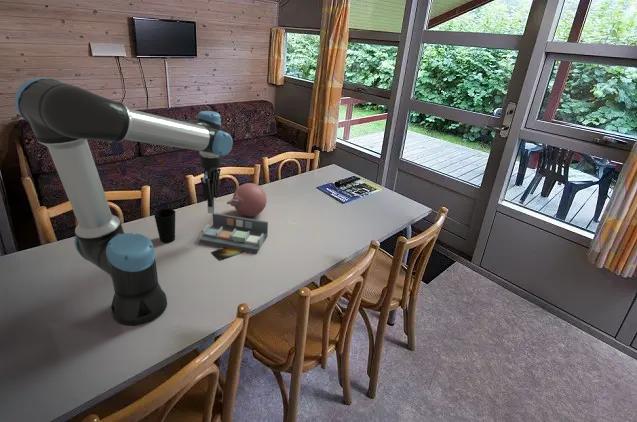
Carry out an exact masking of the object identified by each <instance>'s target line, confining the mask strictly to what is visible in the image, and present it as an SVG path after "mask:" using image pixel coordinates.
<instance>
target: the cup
mask: <svg viewBox="0 0 637 422" xmlns="http://www.w3.org/2000/svg"><path fill="white" fill-rule="evenodd" d="M153 216H154V220H155V225H156V228H157V233H158V237H159V241H160V243H163V244H169V243H173V242H175V240H176V211H175V210H174V209H172V208H161V209H160V208H159V209H158V210H156V211H154V213H153Z"/></svg>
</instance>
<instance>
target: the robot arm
mask: <svg viewBox="0 0 637 422" xmlns="http://www.w3.org/2000/svg"><path fill="white" fill-rule="evenodd" d="M14 105H15V109H16V110H17V112H18V114H19V115H20V116H21V117H22V119H24V121H26V122H27V123H29V125H30V127H31V130H32V131H33V134H34V137H35V139H36V141H37V143H39V144H41V145H43V146H45V147H47V149H48V151H49V154H50V156H51V159H52V161H53V164H54V167H55V169H56V171H57V175H58V176H59V179H60V181H61V183H62V186H63V189H64V191H65V194H66V196H67V198H68V201H69V204H70V206H71V209H72V211H73V214H74V217H75V219H76V221H77V223H78V224H77V225H76V227H75V229H74V233H75V237H74V240H73V242H74V247H75V250H76V251H77V253H78V254H79V255H80V257H82V258H83V259H85V260H86V261H87V262H90V263H91V264H93V265H95V266H96V267H97V268H99V269H101V271H103V272H104V273H106V274H108V275H109V276H110V277H111V281H112V286H113V290H114V292H113V297H112V302H111V306H110V307H111V308H110V311H111V316H112V319H113V320H114V321H115V323H118V324H120V325H122V326H128V327H129V326H130V327H134V326H141V325H145V324H149V323H150V322H153V321H155V320H157V319H158V318H159V317H160V316H162V315H163V313H164V312H165V311H166V309H167V308H168V307H167V306H168V300H167V295H166V293H165V292H164V290H163V288H162V287H161V285H160V283H159V280H158V279H159V278H158V269H157V261H156V251H155V248H154V244H153V242H152V240H151V239H150V238H149V237H148V236H146V235H144V234H141V233H133V232H127V233H125V232H124V228H123V226H122V223H121V220H120V217H118V216H116V215H115V214H114V215H113V213H112V211H111V209H110V205H109V202H108V199H107V196H106V193H105V190H104V187H103V184H102V182H101V178H100V175H99V172H98V169H97V166H96V164H95V160H94V157H93V154H92V151H91V148H90V145H89V142H88V140H91V141H102V142H111V143H120V142H123V141H124V140H125V141H133V142H141V143H147V144H152V145H159V146H166V147H172V148H178V149H185V150H193V151H199V155H200V156H199V165H200V166H201V167H202V168H203V177H200V182H201V185H202V193H203V198H204V199H205V200H207V202H206V203H207V214H211V215H213V214H215V213H217V207H216V206H217V205H216V204H217V201H216V200H217V199H216V198H218V197H219V195H218V193H219V188H220V186H219V184H220V175H221V168H219V167H221V166H222V157H224V156H227V155H228V154H229V153H231V151H232V150H233V141H234V140H233V138H232V136H231V135H230V133H228V132H225V131H224V130H222V120H221V114H220V113H218V112H217V111H212V110H202V111H199V113H198V114H197V115H198V116H197V119H189V120H184V121H183V120H182V121H181V120H177V119H173V118H168V117H166V116H162V115H158V114H157V115H156V114H152V113H148V112H144V111H140V110H137V109H132V108H128V107H127V106H126V105H125V103H122V102H121V101H116V100H112V99H109V98H106V97H104V96H101V95H99V94H96V93H93V92H91V91H89V90H87V89H85V88H82V87H80V86H76V85H74V84H73V85H72V84H68V83H66V82H62V81H60V80H59V79H54V78H50V77H36V78H31V79H28V80H26V81H25V82H23V83H22V84H20V86H19V87H18V89H17V90H16V92H15V96H14Z"/></svg>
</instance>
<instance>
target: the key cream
mask: <svg viewBox="0 0 637 422" xmlns="http://www.w3.org/2000/svg"><path fill="white" fill-rule="evenodd" d="M259 238H260V237H258V236H252V235H250V236H249V237H248V239H247V240H246V243H247V244H253V245H258V239H259Z"/></svg>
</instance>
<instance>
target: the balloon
mask: <svg viewBox="0 0 637 422" xmlns="http://www.w3.org/2000/svg"><path fill="white" fill-rule="evenodd" d="M232 195H233V196H232V198H231V199H230V200H228V201H227V202H226V204H227V205H230V206H231V207H234V209H235V210H236V211H237V212H238V213H239V214H240V215H243V216H245V217H255V216H258V215H259V214H261V213H262V212H263V211H264V209H265V208H266V206H267V194H266V191H264V189H263V188H262V187H261V186H260V185H258V184H256V183H251V182H247V183H243V184H241V185H239V186H238V187H237V188H236V189H235V190H234V193H233V194H232Z"/></svg>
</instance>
